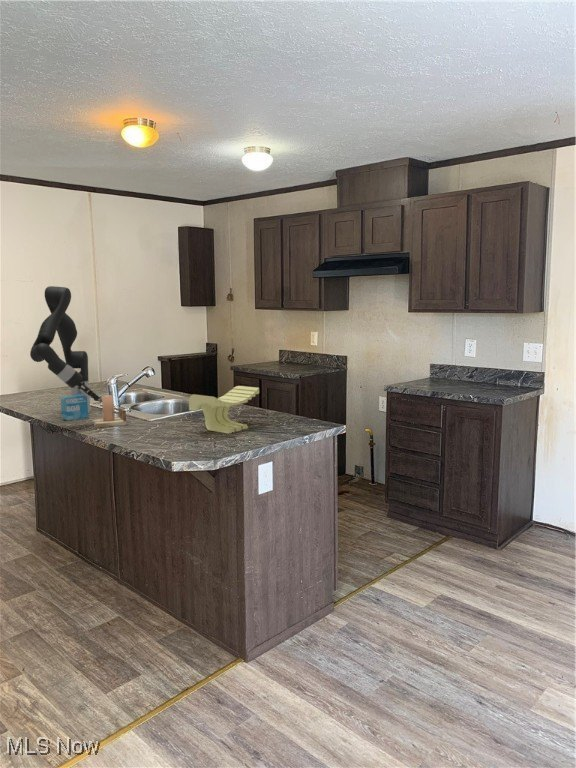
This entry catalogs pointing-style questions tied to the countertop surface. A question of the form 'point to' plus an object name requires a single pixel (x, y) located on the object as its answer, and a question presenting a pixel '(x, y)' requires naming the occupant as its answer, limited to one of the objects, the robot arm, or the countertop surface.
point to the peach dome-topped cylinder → (108, 408)
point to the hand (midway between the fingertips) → (96, 397)
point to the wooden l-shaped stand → (117, 421)
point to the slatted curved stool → (222, 408)
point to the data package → (74, 407)
